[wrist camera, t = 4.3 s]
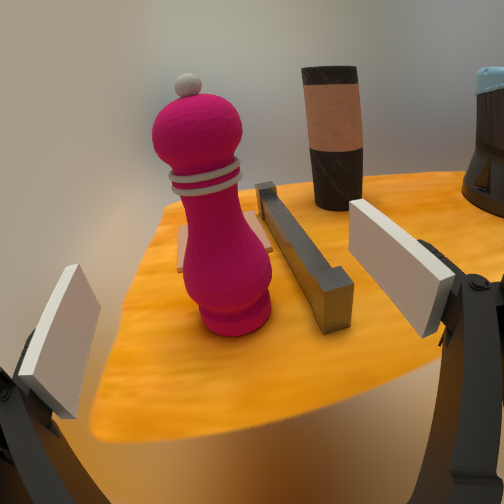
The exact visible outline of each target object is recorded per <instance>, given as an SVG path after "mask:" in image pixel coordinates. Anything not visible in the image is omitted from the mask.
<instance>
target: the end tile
mask: <svg viewBox="0 0 504 504" xmlns="http://www.w3.org/2000/svg"><path fill="white" fill-rule="evenodd" d="M242 213H243V215H244V217H245V219H246V221H247V223H248V224H249V226H250V228H251V229H252V230H253V231H254V233H255V234H256V235H257V237H258V238H259V239H260V241H261V242H262V244H263V245H264V247H265V250H266V252H271V251H273V250H272V246H271V244H270V242H269V240H268V238H267V236H266V234H265V232H264V230H263V228H262V226H261V224H260V222H259V220H258V218H257V216H256V214H255V212H254V210H250V211H246V212H242ZM187 238H188V225H184V226H179V234H178V256H177V270H178V273H179V272H183V261H184V255H185V249H186V245H187Z"/></svg>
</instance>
